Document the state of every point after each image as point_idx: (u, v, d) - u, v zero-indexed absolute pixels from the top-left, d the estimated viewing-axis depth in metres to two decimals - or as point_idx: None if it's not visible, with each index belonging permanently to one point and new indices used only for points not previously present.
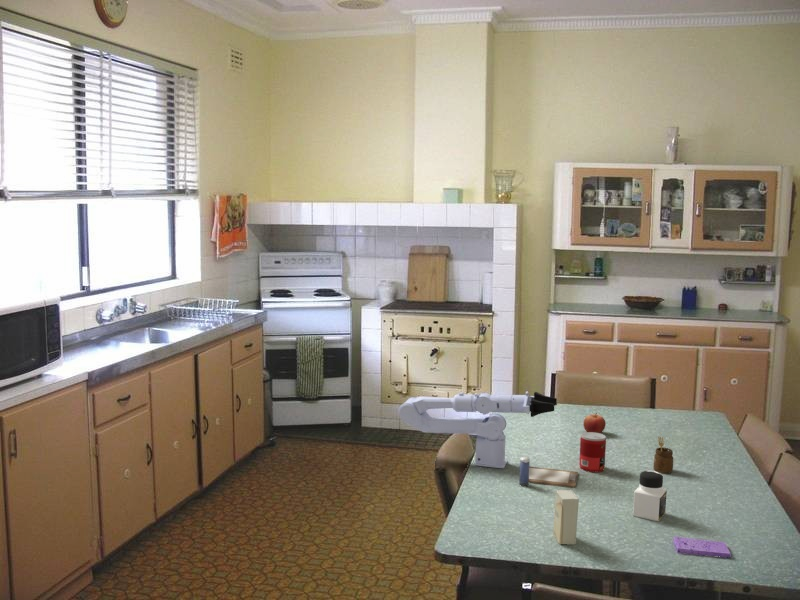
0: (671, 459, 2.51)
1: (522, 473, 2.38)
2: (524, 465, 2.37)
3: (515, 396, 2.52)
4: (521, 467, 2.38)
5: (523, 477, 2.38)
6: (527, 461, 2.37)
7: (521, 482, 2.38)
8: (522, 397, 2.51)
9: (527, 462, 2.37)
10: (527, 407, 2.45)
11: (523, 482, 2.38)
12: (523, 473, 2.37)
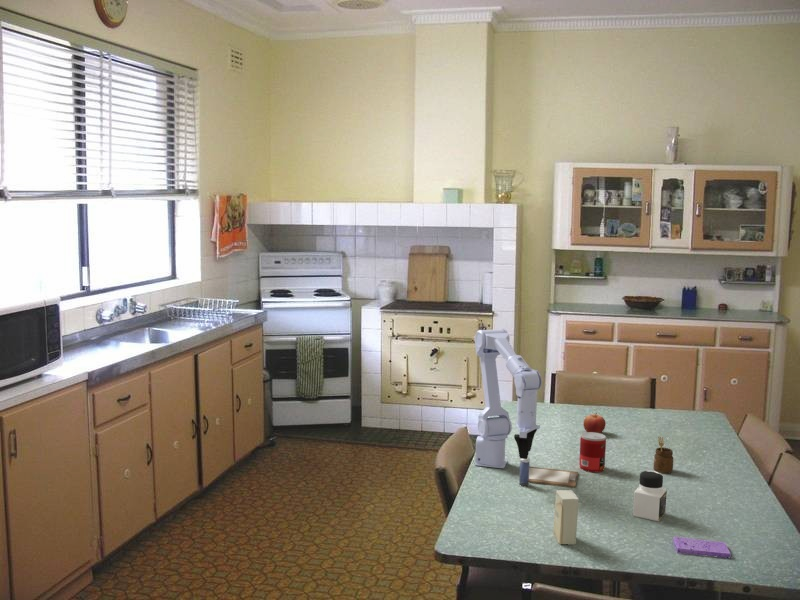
0: (671, 459, 2.51)
1: (522, 473, 2.38)
2: (524, 465, 2.37)
3: (535, 416, 2.35)
4: (521, 467, 2.38)
5: (523, 477, 2.38)
6: (527, 461, 2.37)
7: (521, 482, 2.38)
8: (533, 423, 2.35)
9: (527, 462, 2.37)
10: (525, 436, 2.30)
11: (523, 482, 2.38)
12: (523, 473, 2.37)
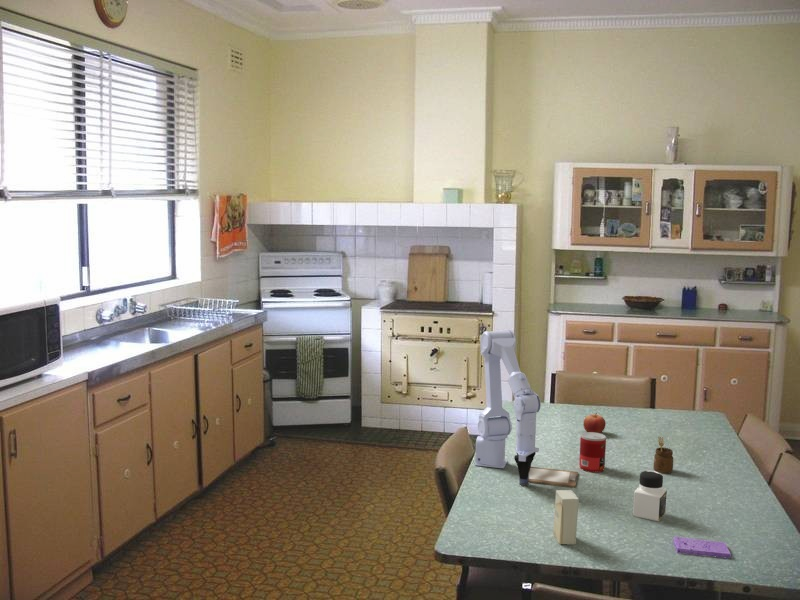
0: (671, 459, 2.51)
1: None
2: None
3: (534, 439, 2.36)
4: None
5: None
6: None
7: (521, 482, 2.38)
8: (533, 446, 2.35)
9: None
10: (524, 459, 2.31)
11: (523, 482, 2.38)
12: None
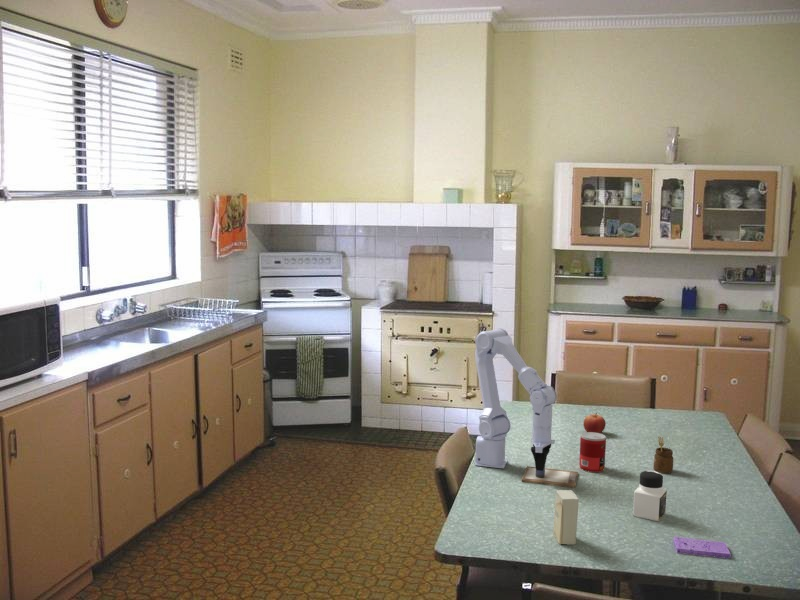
0: (671, 459, 2.51)
1: None
2: None
3: (550, 431, 2.41)
4: None
5: None
6: None
7: (537, 473, 2.44)
8: (549, 438, 2.41)
9: None
10: (540, 451, 2.36)
11: (540, 474, 2.43)
12: None
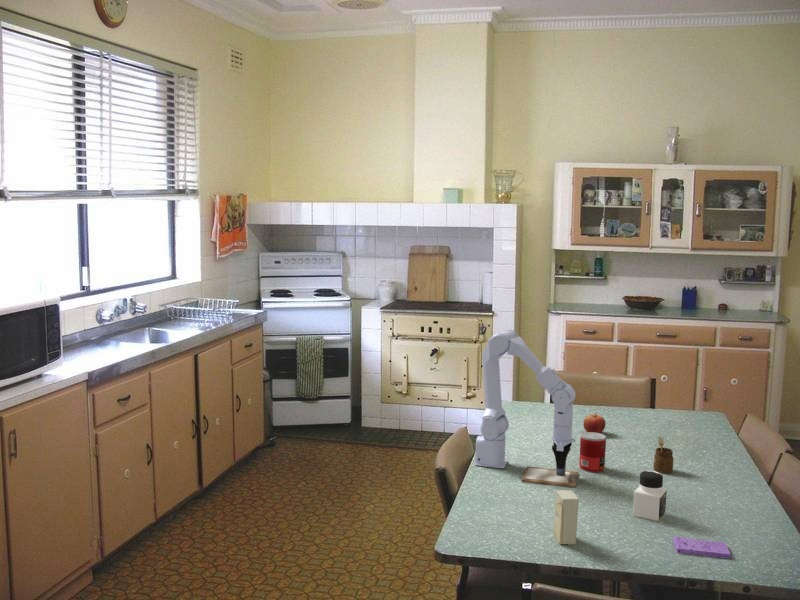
0: (671, 459, 2.51)
1: None
2: None
3: (571, 429, 2.43)
4: None
5: None
6: None
7: (558, 472, 2.45)
8: (569, 437, 2.43)
9: None
10: (562, 449, 2.38)
11: (561, 472, 2.45)
12: None
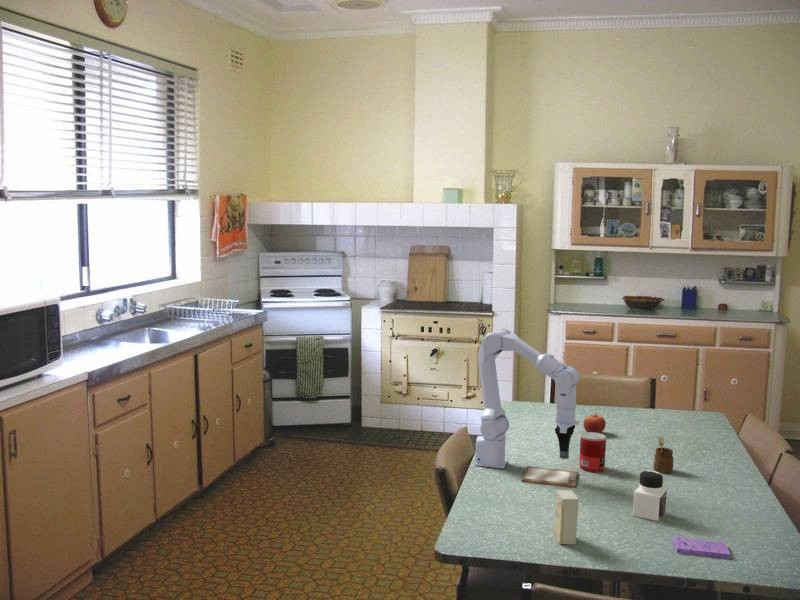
0: (671, 459, 2.51)
1: None
2: None
3: (574, 412, 2.41)
4: None
5: None
6: None
7: (561, 454, 2.43)
8: (573, 419, 2.40)
9: None
10: (565, 431, 2.36)
11: (564, 455, 2.42)
12: None
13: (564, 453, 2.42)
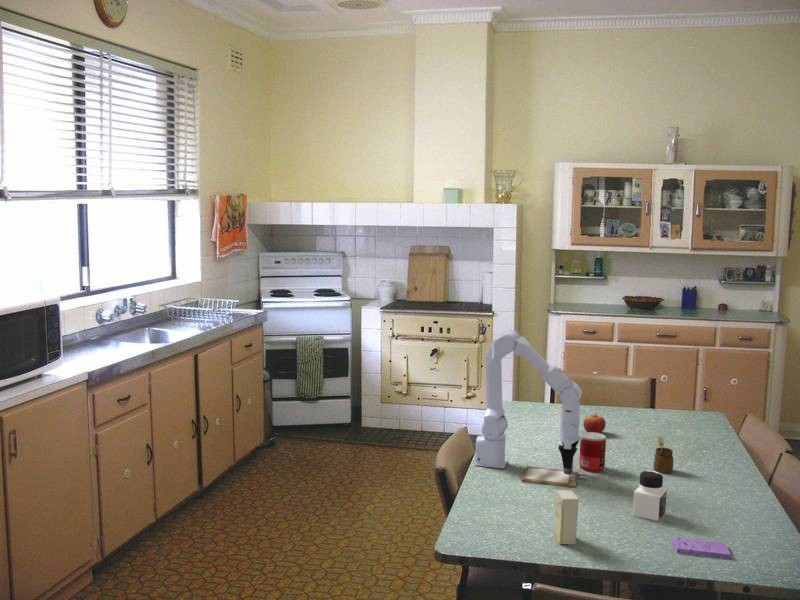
0: (671, 459, 2.51)
1: None
2: None
3: (578, 427, 2.45)
4: None
5: None
6: None
7: (565, 470, 2.47)
8: (577, 435, 2.44)
9: None
10: (569, 447, 2.40)
11: (568, 470, 2.47)
12: None
13: (568, 469, 2.47)
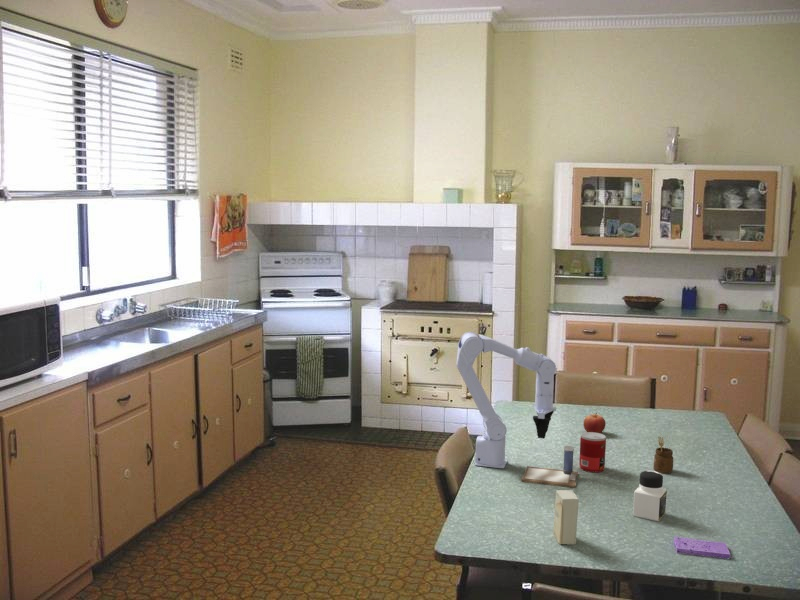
0: (671, 459, 2.51)
1: (566, 461, 2.46)
2: (568, 454, 2.46)
3: (552, 398, 2.54)
4: (565, 456, 2.47)
5: (567, 465, 2.46)
6: (571, 450, 2.46)
7: (565, 470, 2.47)
8: (551, 405, 2.54)
9: (571, 451, 2.46)
10: (543, 417, 2.49)
11: (568, 470, 2.47)
12: (567, 462, 2.46)
13: (568, 469, 2.47)
